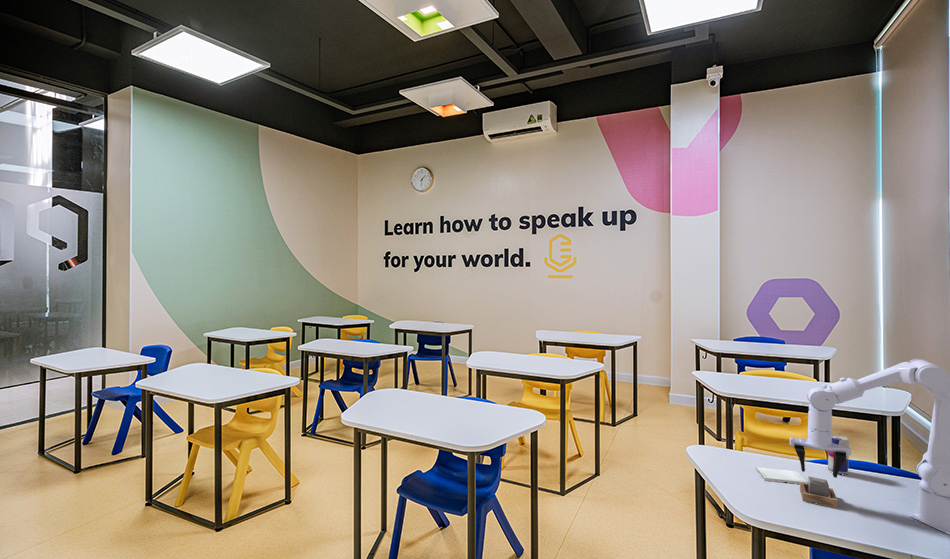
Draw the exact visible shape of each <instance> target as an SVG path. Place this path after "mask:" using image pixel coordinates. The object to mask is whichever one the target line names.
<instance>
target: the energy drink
mask: <svg viewBox="0 0 950 559" xmlns="http://www.w3.org/2000/svg"><path fill="white" fill-rule="evenodd" d="M832 443H834V444H838V445H842V446H847V447H850V441H849V438H848V437H846V436H844V435H841V434H832ZM827 454H828V456H827V457H828V461H827V470H828V471H829V472H830V471H831V472H830V473H832V472H833V463H834V462H833V452H831V451H828V453H827ZM849 456H850V455H846V457H847V458H846V461H845V462H844V463H843V464H842V466H841V467H840V469H839V472H838V474H843V475H842V476H847V475H848V474H849V459H850V458H849ZM845 474H846V475H845Z"/></svg>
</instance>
